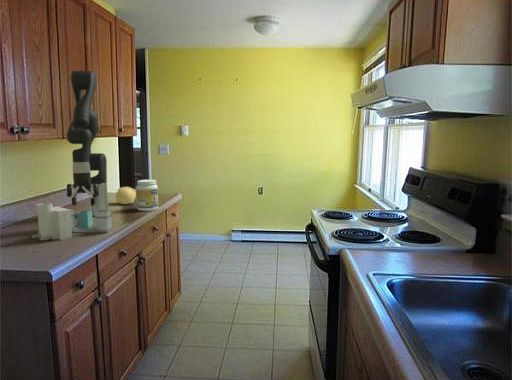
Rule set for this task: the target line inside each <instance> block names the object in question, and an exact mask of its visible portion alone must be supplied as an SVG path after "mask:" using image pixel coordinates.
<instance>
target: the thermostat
mask: <svg viewBox="0 0 512 380" xmlns="http://www.w3.org/2000/svg"><path fill="white" fill-rule="evenodd" d="M36 207H37V208H36V211H37V220H38V221H37V223H38V231H37V232H38V233H37V234H33V235H29V239H35V238H39V241H47V240H60V241H63V240H68V239H73V232H72V228H71V214H70V210H69V208H64V207H61V206H58V205H57V206H53V203H52V202H42V203H37V204H36Z"/></svg>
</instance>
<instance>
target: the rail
mask: <svg viewBox="0 0 512 380" xmlns="http://www.w3.org/2000/svg"><path fill="white" fill-rule="evenodd" d="M68 209H69V208H68ZM69 210H70V214H71V228H72V233H102V234H103V233H107V234H108V233H110V232H111V231H113V230H112V228H113V221H112V220H113V218H112V215H113V214H112V209H108V210H99V211H97V212H95V215H96V216H94V217H95V226H90V227H78V226H77V225H76V214H75V209H69Z"/></svg>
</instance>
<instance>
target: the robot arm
mask: <svg viewBox="0 0 512 380" xmlns="http://www.w3.org/2000/svg"><path fill="white" fill-rule="evenodd" d="M97 80H98V79H97V76H96V73H95V72H94V71H92V70H72V71H71V74H70V82H71V88H72V92H73V95H74V99H75V107H74V110H73V116H72V117H73V118H72V121H71V123H70V126H69V128H68V130H67V132H66V139H67V141H68V143H70V144H71V145H81V148H75V149H73V150H72V154H71V155H72V179H73V180H72V182H73V183H68V184H66V196H67V197H69V198H71V205H72V206H74V207H76V206H77V205H78V203H77V195H78V194H87V195H88V198H89V199H88V201H89V211H92V217H95V216H96V215H95V212H97V211H99V210H109V202H108V201H109V198H108V197H109V196H108V183H107V179H108V178H107V177H108V176H107V175H108V173H107V171H108V170H107V168H108V166H107V163H108V162H107V156H106V154H105V153H102V152H101V153H99V152H98V153H97V152H95V153H93V152H92V144H93V141H94V140H95V138H96V137H97V134H98V132H99V130H100V129H99V127H100V125H99V119H98V115H97V113H96V111H95V110H94V109H93V108H92V105H93V101H94V97H95V93H96V89H97V83H98V82H97ZM83 91H85V94H83ZM91 171H92V172H93V171H95V172H98V173H97V174H96V175H94V176H91ZM73 189H74V190H73Z"/></svg>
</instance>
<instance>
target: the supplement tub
mask: <svg viewBox="0 0 512 380" xmlns="http://www.w3.org/2000/svg"><path fill="white" fill-rule="evenodd" d="M136 184H137V185H136V187H135V190H136V197H135V199H136V209H137V210H138V211H141V212H152V211H156V210H159V187H158V185H157V180H156V179H140V180H137V183H136Z"/></svg>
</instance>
